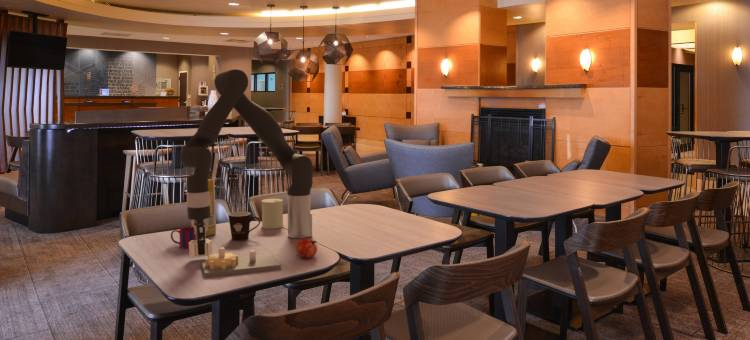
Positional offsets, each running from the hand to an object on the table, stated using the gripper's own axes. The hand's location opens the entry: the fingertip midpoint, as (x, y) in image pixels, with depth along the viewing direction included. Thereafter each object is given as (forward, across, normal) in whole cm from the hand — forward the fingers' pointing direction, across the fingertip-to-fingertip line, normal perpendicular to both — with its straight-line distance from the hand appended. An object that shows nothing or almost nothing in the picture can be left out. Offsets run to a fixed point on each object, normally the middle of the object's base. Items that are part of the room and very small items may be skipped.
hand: (200, 251), depth 192 cm
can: (+3, +40, -33) cm, 52 cm away
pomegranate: (+3, -10, -35) cm, 36 cm away
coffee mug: (+3, +23, -18) cm, 29 cm away
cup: (+3, +20, +4) cm, 21 cm away
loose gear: (+1, 0, 0) cm, 1 cm away
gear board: (+3, -13, -12) cm, 18 cm away
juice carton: (+3, +36, -4) cm, 36 cm away
